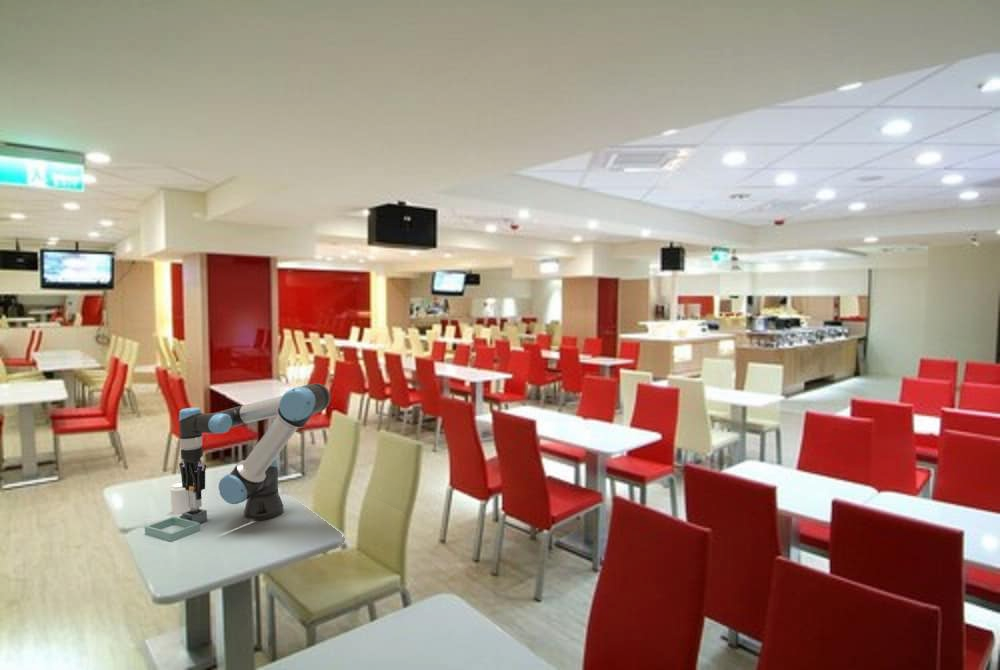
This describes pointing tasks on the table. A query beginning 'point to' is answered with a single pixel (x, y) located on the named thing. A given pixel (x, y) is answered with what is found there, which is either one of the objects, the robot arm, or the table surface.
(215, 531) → the table surface
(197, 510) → the grey orange cylinder
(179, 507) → the white upright cylinder
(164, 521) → the tray
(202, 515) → the dark grey open box
